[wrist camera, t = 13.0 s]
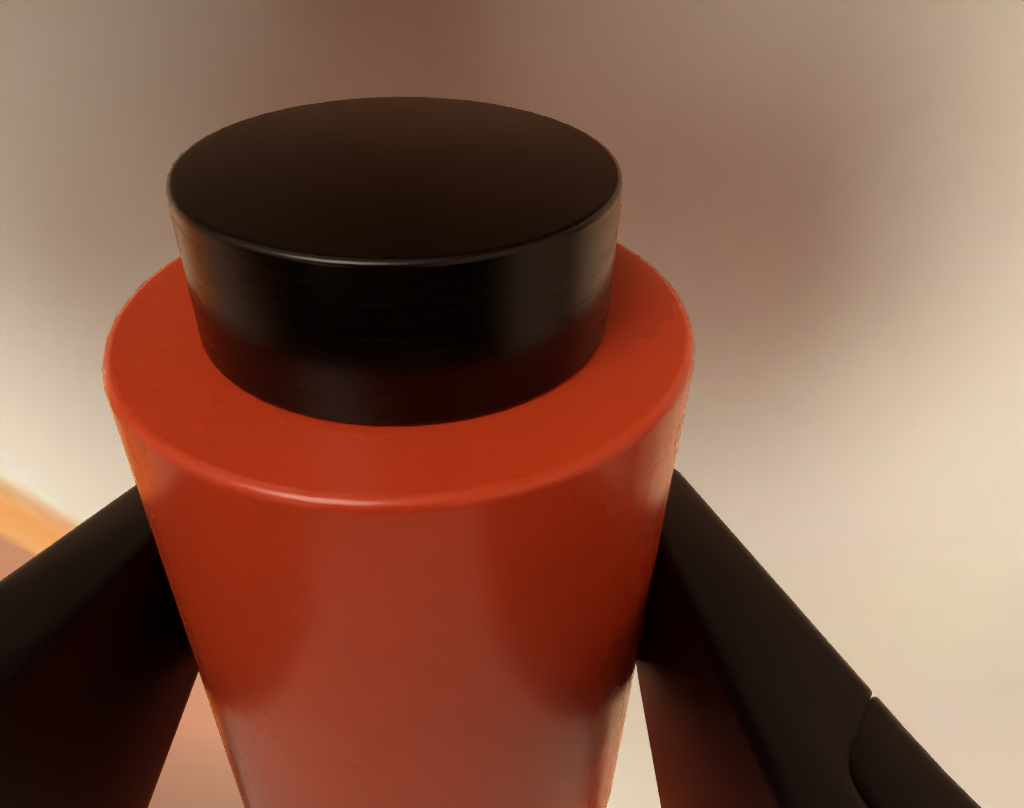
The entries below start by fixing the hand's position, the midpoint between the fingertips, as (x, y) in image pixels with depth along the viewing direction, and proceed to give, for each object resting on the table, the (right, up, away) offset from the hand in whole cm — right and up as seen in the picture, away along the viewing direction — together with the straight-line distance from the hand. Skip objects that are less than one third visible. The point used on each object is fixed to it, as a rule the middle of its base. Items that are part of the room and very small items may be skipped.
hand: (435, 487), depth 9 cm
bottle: (0, +1, +1) cm, 1 cm away
